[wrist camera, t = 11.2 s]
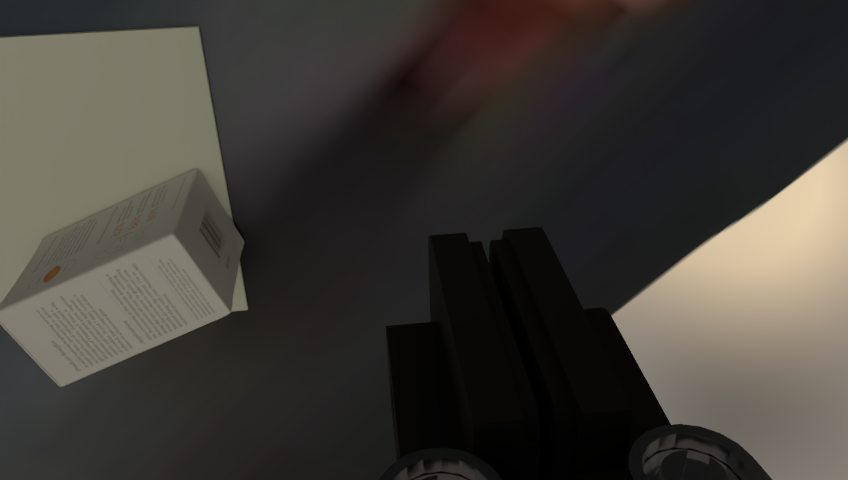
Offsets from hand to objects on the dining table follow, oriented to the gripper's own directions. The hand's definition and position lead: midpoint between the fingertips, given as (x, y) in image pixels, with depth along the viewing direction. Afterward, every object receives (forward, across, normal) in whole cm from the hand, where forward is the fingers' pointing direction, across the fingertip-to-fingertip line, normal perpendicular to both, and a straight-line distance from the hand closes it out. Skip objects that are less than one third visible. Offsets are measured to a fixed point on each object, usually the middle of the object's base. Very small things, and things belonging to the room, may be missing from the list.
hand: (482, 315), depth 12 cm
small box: (+28, +10, +13) cm, 32 cm away
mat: (+32, +17, +12) cm, 38 cm away
